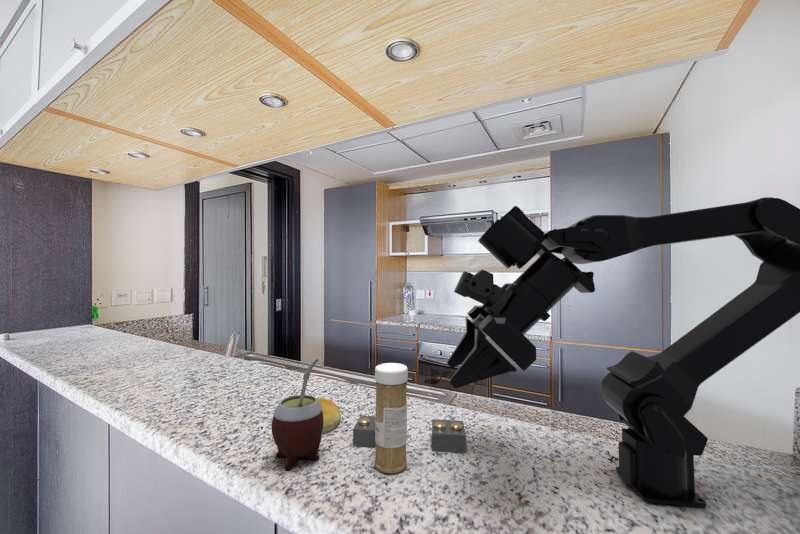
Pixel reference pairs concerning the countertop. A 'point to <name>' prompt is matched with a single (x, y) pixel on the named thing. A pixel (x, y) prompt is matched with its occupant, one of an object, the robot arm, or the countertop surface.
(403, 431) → the sprinkles bottle
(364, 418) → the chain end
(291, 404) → the mate gourd
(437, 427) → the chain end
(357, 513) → the countertop surface
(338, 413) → the bread roll
